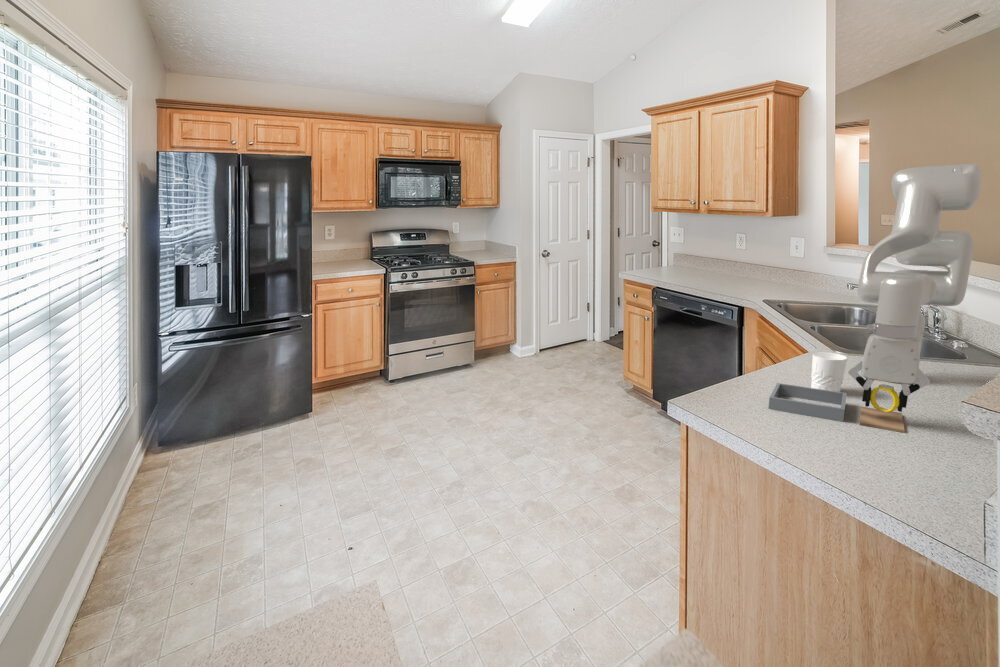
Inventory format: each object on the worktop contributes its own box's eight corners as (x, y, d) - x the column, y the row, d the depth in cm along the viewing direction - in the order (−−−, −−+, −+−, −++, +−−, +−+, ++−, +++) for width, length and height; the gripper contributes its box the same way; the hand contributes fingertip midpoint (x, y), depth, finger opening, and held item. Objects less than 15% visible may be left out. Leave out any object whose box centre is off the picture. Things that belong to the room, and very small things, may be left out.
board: (860, 408, 125) (860, 406, 124) (901, 415, 120) (901, 413, 120) (859, 424, 115) (860, 422, 115) (904, 432, 110) (904, 430, 110)
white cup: (847, 396, 133) (852, 360, 131) (815, 395, 135) (819, 359, 133) (834, 387, 141) (839, 352, 139) (804, 385, 142) (808, 351, 140)
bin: (776, 393, 137) (777, 382, 136) (845, 404, 128) (846, 393, 127) (768, 408, 126) (769, 397, 125) (843, 421, 117) (844, 409, 116)
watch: (899, 414, 115) (905, 390, 113) (889, 416, 114) (895, 392, 112) (874, 404, 120) (879, 381, 119) (865, 405, 120) (870, 382, 118)
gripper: (848, 330, 115) (838, 405, 119) (947, 339, 105) (932, 420, 109) (849, 324, 121) (839, 396, 125) (942, 332, 111) (929, 409, 115)
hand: (883, 406), depth 117 cm, fingers closed on watch, 5 cm apart
